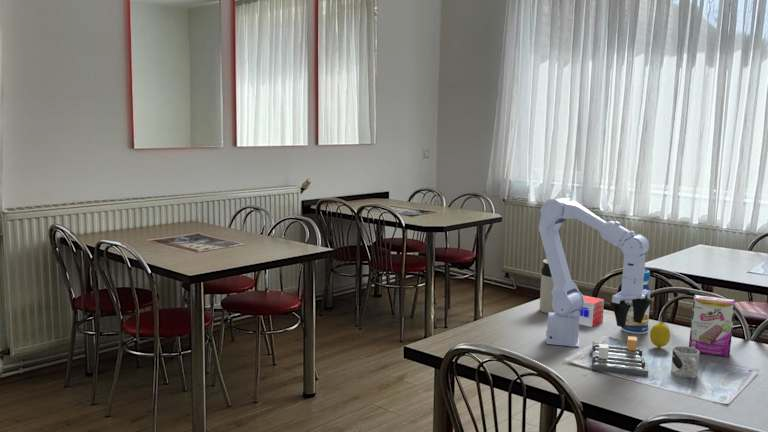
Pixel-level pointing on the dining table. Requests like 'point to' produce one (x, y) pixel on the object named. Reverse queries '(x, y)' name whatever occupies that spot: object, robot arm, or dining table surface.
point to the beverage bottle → (630, 324)
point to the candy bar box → (712, 325)
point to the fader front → (603, 351)
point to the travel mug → (546, 289)
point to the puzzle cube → (591, 311)
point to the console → (620, 360)
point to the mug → (685, 362)
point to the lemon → (660, 335)
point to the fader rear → (632, 343)
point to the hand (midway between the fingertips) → (629, 324)
